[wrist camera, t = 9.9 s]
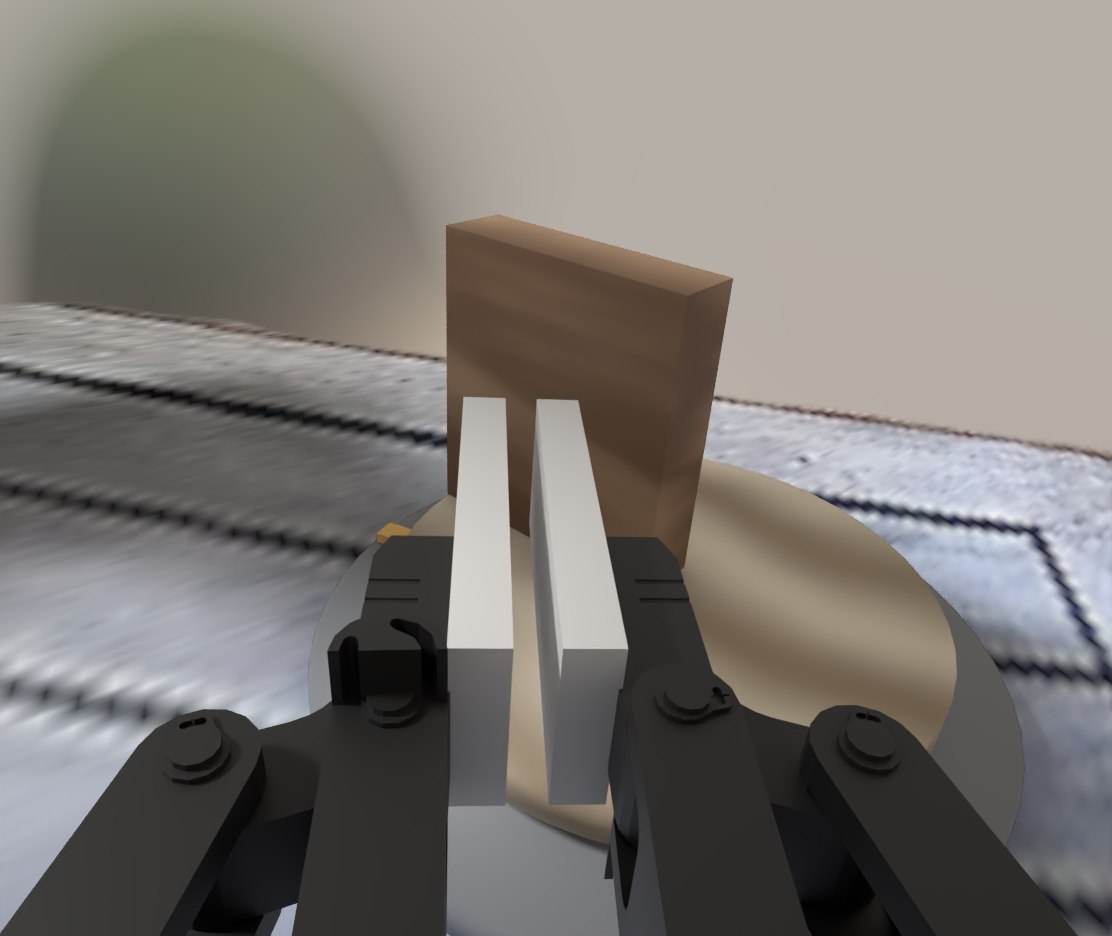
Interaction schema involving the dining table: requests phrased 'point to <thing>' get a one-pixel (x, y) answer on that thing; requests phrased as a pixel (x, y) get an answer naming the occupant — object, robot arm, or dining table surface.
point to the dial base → (579, 863)
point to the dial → (673, 492)
